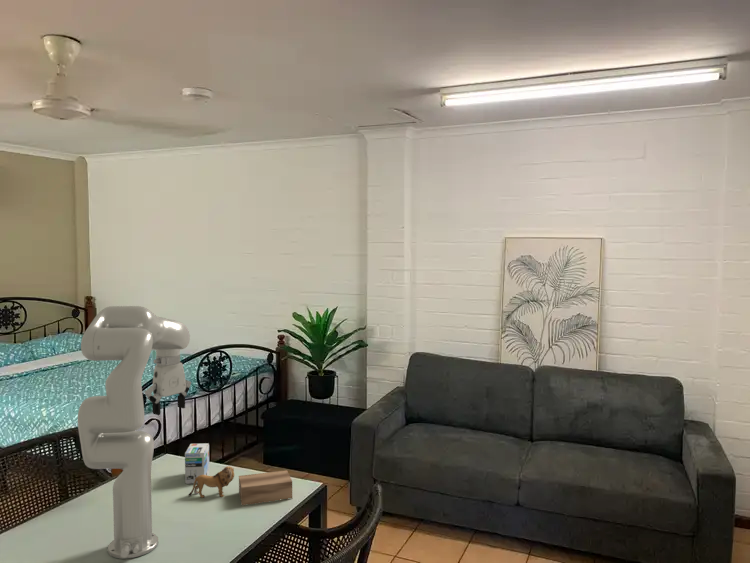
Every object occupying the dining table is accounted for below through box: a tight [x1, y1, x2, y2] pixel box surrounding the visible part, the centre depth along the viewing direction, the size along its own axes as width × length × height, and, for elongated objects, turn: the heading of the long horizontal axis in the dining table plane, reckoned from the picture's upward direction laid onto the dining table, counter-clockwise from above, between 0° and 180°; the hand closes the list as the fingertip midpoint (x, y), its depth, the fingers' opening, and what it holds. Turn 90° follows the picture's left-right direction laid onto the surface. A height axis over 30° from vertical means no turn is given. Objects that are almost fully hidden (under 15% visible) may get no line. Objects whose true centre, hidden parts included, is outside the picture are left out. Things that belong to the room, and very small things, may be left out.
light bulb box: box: [184, 442, 210, 485], centre depth 207 cm, size 11×7×11 cm, turn 7°
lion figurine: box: [187, 465, 235, 499], centre depth 192 cm, size 15×5×9 cm, turn 103°
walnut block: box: [238, 470, 293, 506], centre depth 192 cm, size 10×16×6 cm, turn 108°
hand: (169, 410), depth 197 cm, fingers open, 9 cm apart
